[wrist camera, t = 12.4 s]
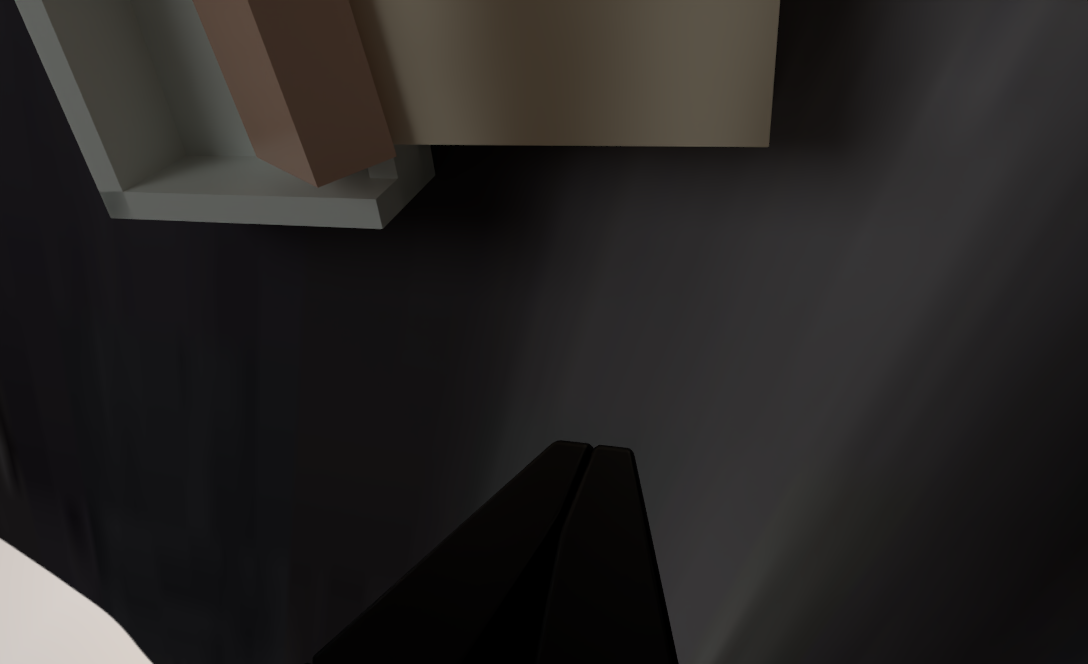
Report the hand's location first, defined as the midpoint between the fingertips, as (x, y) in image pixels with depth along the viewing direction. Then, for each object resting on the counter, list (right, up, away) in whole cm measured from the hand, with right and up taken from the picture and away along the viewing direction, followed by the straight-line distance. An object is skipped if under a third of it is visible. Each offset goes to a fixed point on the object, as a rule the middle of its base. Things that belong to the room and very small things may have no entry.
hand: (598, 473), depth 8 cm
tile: (-6, +8, +10) cm, 14 cm away
